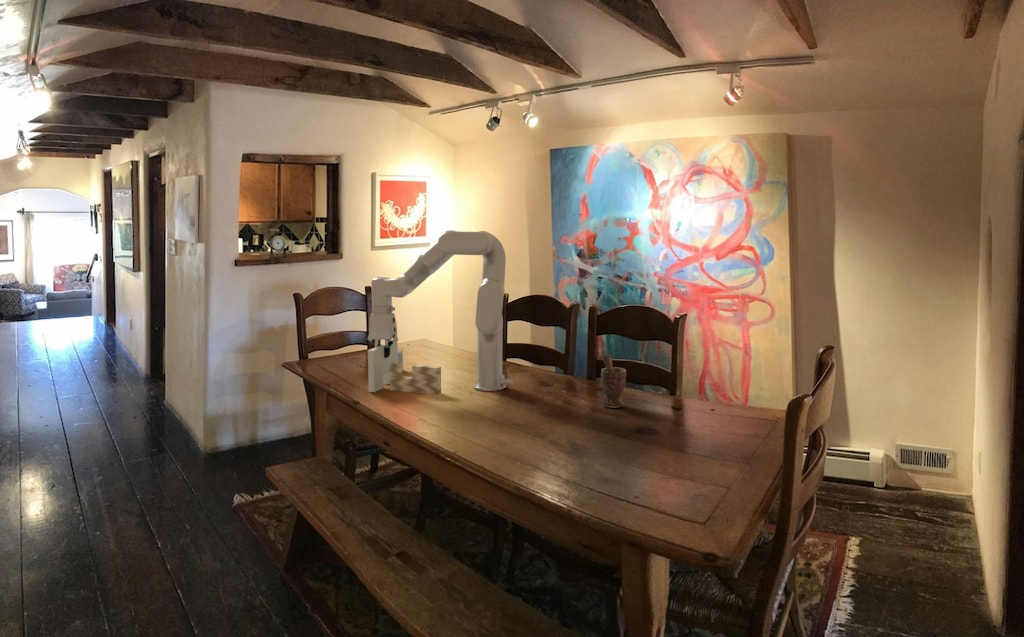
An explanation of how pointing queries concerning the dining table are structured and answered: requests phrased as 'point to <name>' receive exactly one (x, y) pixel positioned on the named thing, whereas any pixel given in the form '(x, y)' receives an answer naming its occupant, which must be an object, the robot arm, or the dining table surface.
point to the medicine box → (400, 357)
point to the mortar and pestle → (612, 382)
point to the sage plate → (380, 366)
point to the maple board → (415, 379)
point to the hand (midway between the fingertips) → (383, 356)
